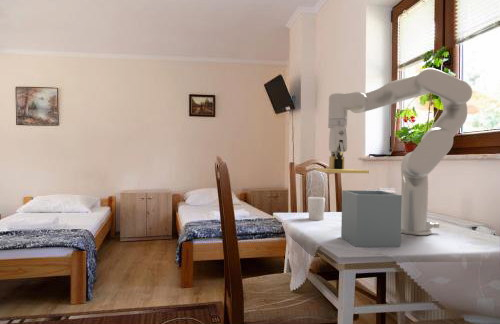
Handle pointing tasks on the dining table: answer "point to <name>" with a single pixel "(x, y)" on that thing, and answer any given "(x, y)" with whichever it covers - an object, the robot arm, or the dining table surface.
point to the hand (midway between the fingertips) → (336, 168)
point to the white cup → (316, 208)
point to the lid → (332, 170)
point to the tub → (371, 218)
